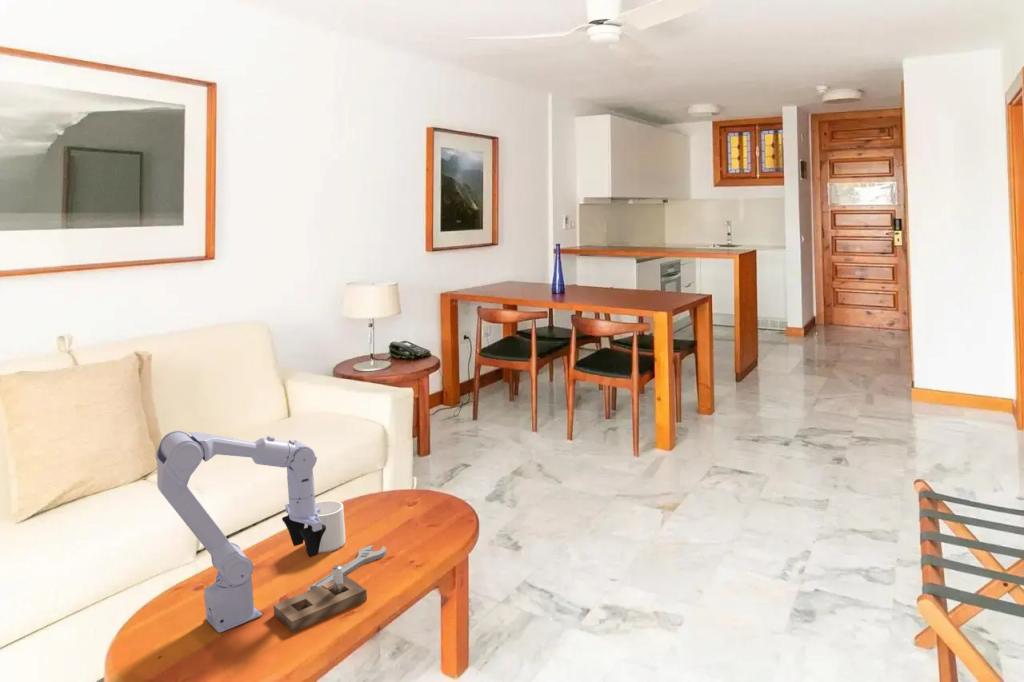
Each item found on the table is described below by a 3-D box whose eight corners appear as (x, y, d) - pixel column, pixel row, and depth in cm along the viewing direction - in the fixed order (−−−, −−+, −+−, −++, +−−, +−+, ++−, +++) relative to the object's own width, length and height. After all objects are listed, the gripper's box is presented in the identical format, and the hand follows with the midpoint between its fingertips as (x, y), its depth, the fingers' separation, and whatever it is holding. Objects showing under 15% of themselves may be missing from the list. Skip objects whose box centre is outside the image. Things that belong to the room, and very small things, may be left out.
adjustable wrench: (313, 598, 161) (313, 591, 161) (295, 590, 165) (295, 583, 164) (390, 554, 181) (390, 548, 181) (372, 548, 185) (372, 541, 184)
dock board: (292, 632, 147) (292, 620, 146) (274, 615, 153) (273, 604, 153) (366, 599, 159) (366, 588, 159) (346, 585, 165) (346, 574, 165)
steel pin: (337, 603, 158) (335, 570, 156) (332, 599, 159) (330, 567, 158) (346, 599, 159) (344, 567, 158) (341, 596, 161) (339, 564, 159)
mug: (323, 533, 193) (321, 498, 192) (353, 539, 189) (351, 503, 188) (292, 553, 182) (289, 516, 180) (323, 560, 178) (320, 522, 176)
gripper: (332, 498, 156) (336, 555, 159) (303, 481, 167) (307, 534, 169) (303, 507, 152) (307, 565, 154) (275, 489, 162) (279, 543, 165)
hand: (305, 550), depth 161 cm, fingers open, 7 cm apart
